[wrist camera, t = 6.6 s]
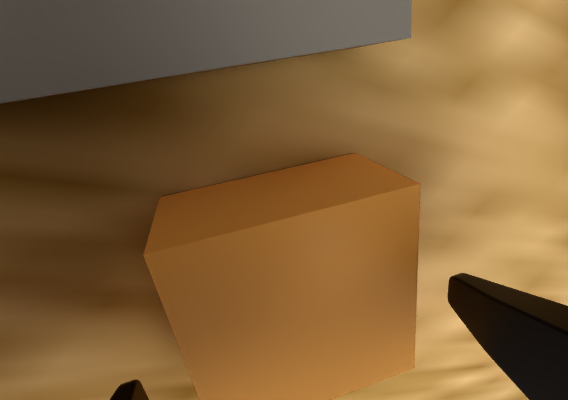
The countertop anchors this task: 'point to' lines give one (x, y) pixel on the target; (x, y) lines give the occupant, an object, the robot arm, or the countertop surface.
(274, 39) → the panel
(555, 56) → the countertop surface
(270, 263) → the cap
